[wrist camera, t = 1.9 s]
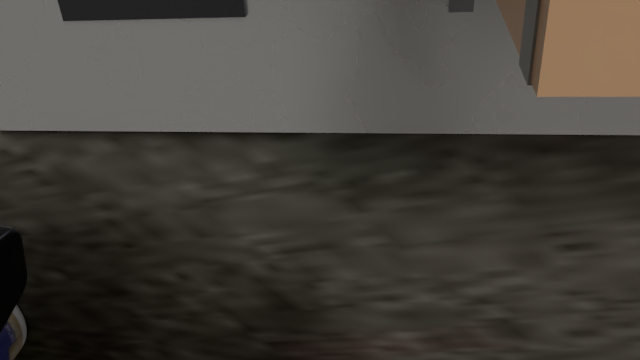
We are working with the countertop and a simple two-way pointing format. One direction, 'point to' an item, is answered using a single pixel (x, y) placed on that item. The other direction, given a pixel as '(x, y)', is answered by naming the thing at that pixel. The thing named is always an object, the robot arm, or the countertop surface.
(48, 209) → the countertop surface
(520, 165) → the countertop surface
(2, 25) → the label panel
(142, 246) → the countertop surface
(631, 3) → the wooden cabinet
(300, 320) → the countertop surface
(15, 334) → the pill bottle
